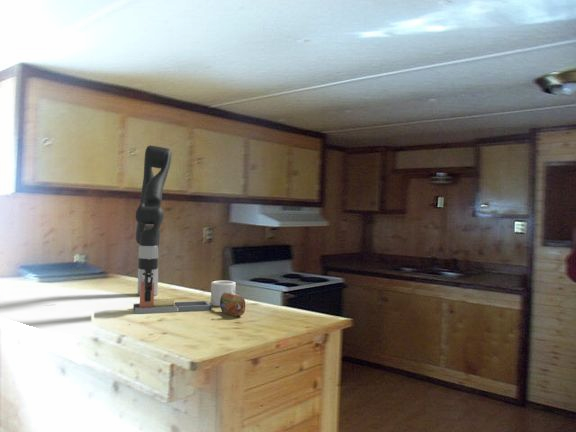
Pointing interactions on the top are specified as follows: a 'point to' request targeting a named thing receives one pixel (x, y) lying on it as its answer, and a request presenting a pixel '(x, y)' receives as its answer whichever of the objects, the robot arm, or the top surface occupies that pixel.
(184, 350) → the top surface
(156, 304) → the tan cubic piece
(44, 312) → the top surface
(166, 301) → the khaki cube
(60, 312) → the top surface
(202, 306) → the tray
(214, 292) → the mug
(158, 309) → the slot bed
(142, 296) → the pink rectangular block
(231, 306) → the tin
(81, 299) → the top surface
